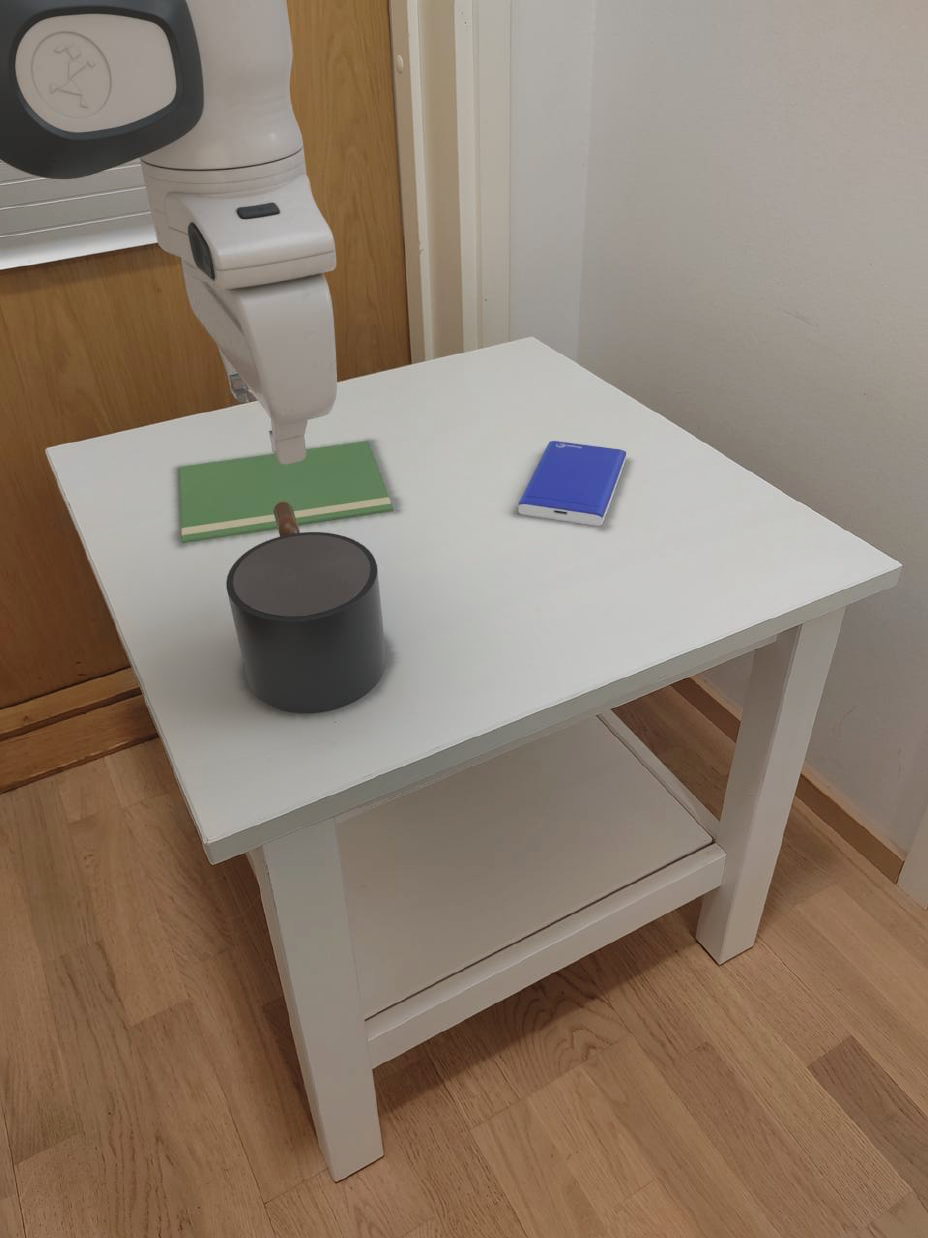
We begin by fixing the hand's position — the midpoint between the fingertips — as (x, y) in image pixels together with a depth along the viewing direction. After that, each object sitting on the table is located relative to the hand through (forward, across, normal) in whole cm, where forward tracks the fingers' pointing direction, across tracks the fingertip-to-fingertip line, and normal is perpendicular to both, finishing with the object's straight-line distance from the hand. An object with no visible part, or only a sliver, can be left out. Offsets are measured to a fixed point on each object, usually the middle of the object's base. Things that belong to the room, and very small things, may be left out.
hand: (267, 426), depth 63 cm
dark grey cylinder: (+21, -2, +1) cm, 21 cm away
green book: (+21, -26, +6) cm, 34 cm away
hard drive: (+21, -13, +32) cm, 41 cm away
